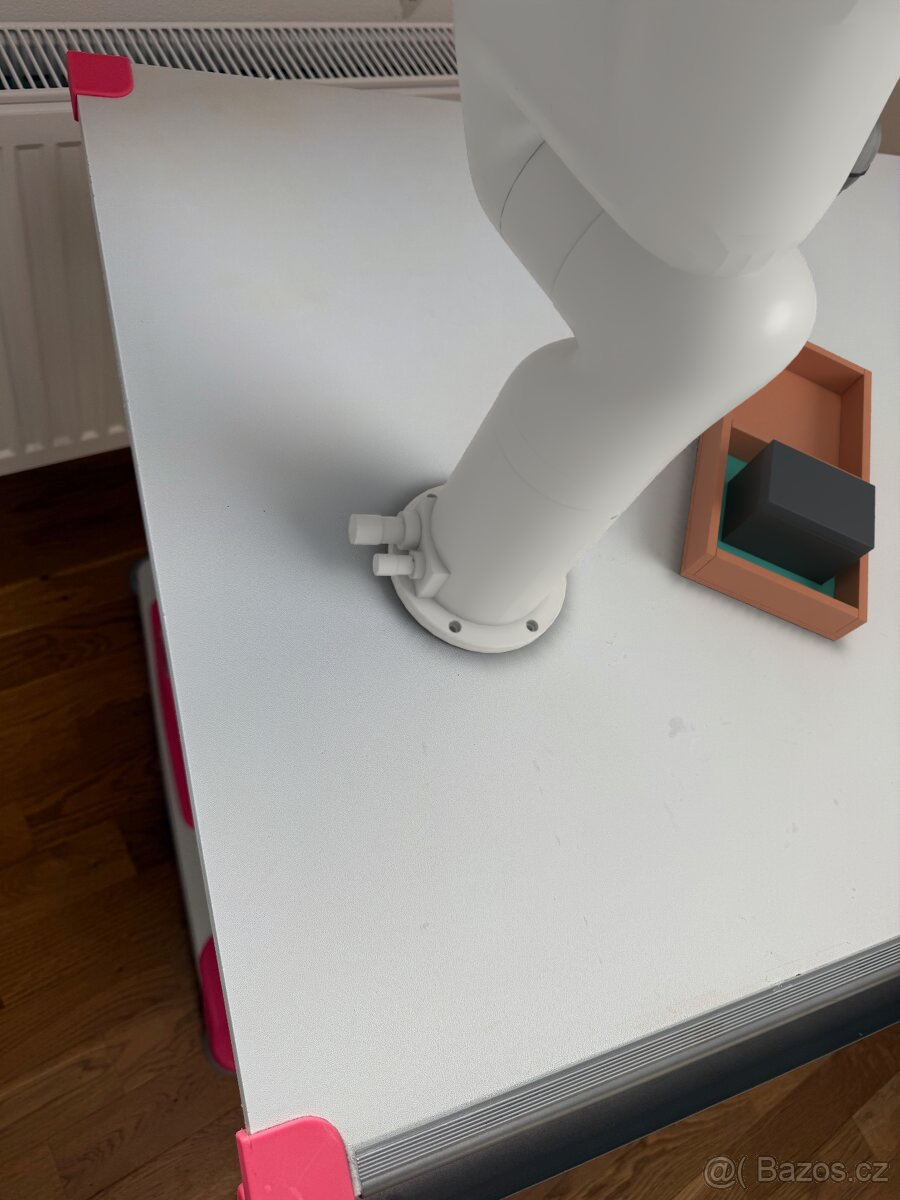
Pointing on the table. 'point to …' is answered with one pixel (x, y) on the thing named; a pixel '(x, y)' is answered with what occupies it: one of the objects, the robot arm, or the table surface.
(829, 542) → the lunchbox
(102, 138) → the table surface
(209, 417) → the table surface
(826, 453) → the divided orange tray
